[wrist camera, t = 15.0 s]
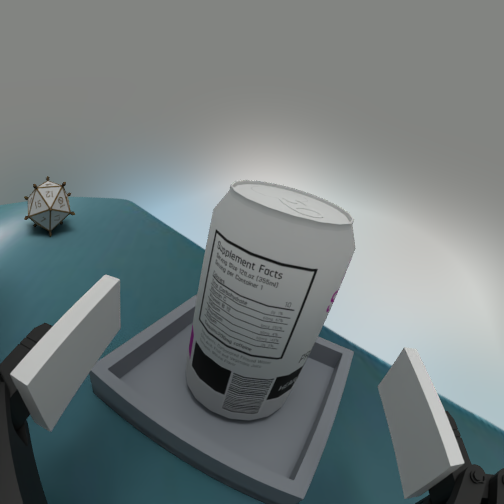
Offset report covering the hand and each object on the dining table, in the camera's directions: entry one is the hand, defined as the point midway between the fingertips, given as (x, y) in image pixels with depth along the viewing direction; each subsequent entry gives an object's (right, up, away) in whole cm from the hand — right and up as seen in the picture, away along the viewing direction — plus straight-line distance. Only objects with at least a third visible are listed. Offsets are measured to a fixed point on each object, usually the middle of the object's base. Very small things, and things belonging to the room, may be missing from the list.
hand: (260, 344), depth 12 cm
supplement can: (-2, -7, +10) cm, 12 cm away
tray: (-2, -7, +10) cm, 13 cm away
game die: (-32, +7, +26) cm, 42 cm away
